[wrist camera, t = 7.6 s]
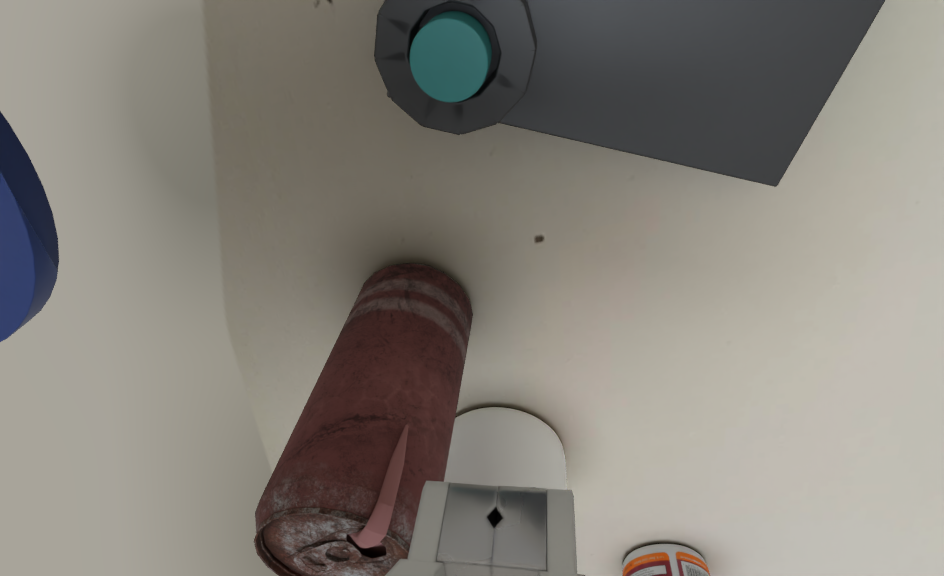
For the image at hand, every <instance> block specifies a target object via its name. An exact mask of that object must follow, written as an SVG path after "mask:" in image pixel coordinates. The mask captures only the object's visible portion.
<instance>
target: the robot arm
mask: <svg viewBox="0 0 944 576" xmlns="http://www.w3.org/2000/svg"><path fill="white" fill-rule="evenodd" d="M385 576H585V575H581V574H577V559H576V538H575V516H574V496H573V492H572V490H560V489H547V490H546V488H536V487H516V486H490V485H477V484H464V483H451V482H441V481H426V483H425V485H424V487H423V490H422V494H421V499H420V504H419V508H418V513H417V517H416V522H415V527H414V531H413V536H412V540H411V545H410V550H409V554H408V559H400V560H399V561H398V562H397V563H396V564H395V565H394V566H393V568H392V569H391V570H390V571H389V572H388V573H387V574H386V575H385Z"/></svg>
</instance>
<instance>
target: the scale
mask: <svg viewBox="0 0 944 576" xmlns="http://www.w3.org/2000/svg"><path fill="white" fill-rule="evenodd" d="M884 2H885V0H386V1H385V2H384V4H383V5H382V7H381V8H380V10H379V12H378V15H377V26H376V39H375V52H374V57H375V62H376V64H377V67H378V69H379V72H380V74H381V76H382V79H383V81H384V84H385V86H386V88H387V91H388V92H387V96H388V97H389V98H392V101H393V102H395V103H396V104H397V105H398V106H399V107H400V108H401V109H403V110H404V111H405V112H406V113H407V114H408V115H409V116H411V117H412V118H413V119H414V120H415V121H416V122H418V123H419V124H420V125H421V126H423V127H427V128H431V129H436V130H440V131H444V132H449V133H453V134H457V135H460V134H466V133H469V132H472V131H476V130H479V129H482V128H485V127H489V126H492V125H495V124H497V123H502V124H506V125H511V126H515V127H519V128H524V129H528V130H532V131H537V132H541V133H545V134H550V135H554V136H558V137H563V138H567V139H571V140H576V141H580V142H584V143H589V144H593V145H597V146H602V147H606V148H610V149H615V150H619V151H623V152H628V153H632V154H636V155H641V156H645V157H649V158H654V159H658V160H662V161H667V162H671V163H675V164H680V165H684V166H688V167H693V168H697V169H701V170H705V171H710V172H714V173H718V174H723V175H727V176H731V177H736V178H740V179H744V180H749V181H753V182H757V183H762V184H766V185H770V186H777V185H778V184H779V182H780V180H781V178H782V177H783V175H784V173H785V172H786V170H787V168H788V166H789V165H790V163H791V161H792V160H793V158H794V156H795V154H796V153H797V151H798V149H799V148H800V146H801V144H802V142H803V141H804V139H805V137H806V136H807V134H808V132H809V130H810V129H811V127H812V125H813V123H814V122H815V120H816V118H817V117H818V115H819V113H820V111H821V110H822V108H823V106H824V105H825V103H826V101H827V99H828V98H829V96H830V94H831V93H832V91H833V89H834V87H835V86H836V84H837V82H838V81H839V79H840V77H841V75H842V74H843V72H844V70H845V69H846V67H847V65H848V63H849V62H850V60H851V58H852V57H853V55H854V53H855V51H856V50H857V48H858V46H859V45H860V43H861V41H862V39H863V38H864V36H865V34H866V33H867V31H868V29H869V27H870V26H871V24H872V22H873V21H874V19H875V17H876V15H877V14H878V12H879V10H880V9H881V7H882V5H883V3H884ZM447 11H459V12H463V13H467V14H469V15H471V16H472V17H474V18H475V19H477V20H478V21H479V22H480V23H481V24H482V26H483V27H484V28H485V30H486V32H487V34H488V36H489V38H490V42H491V47H492V58H491V63H490V67H489V70H488V72H487V75H486V78H485V80H484V82H483V84H482V86H481V87H480V88H479V90H478V91H477V92H476V93H475V94H473V95H472V96H471V97H469V98H467V99H465V100H463V101H459V102H442V101H439V100H436V99H434V98H432V97H431V96H429V95H428V94H426V93H425V92H424V91H423V90H422V89H421V88H420V87H419V85H418V84H417V82H416V81H415V79H414V77H413V74H412V71H411V67H410V49H411V45H412V42H413V40H414V38H415V36H416V35H417V33H418V32H419V31H420V30H421V28H422V27H424V26H425V25H426V24H427V23H428V22H429V21H430V20H431V19H432V18H433V17H435V16H436V15H438V14H441V13H443V12H447Z"/></svg>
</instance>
